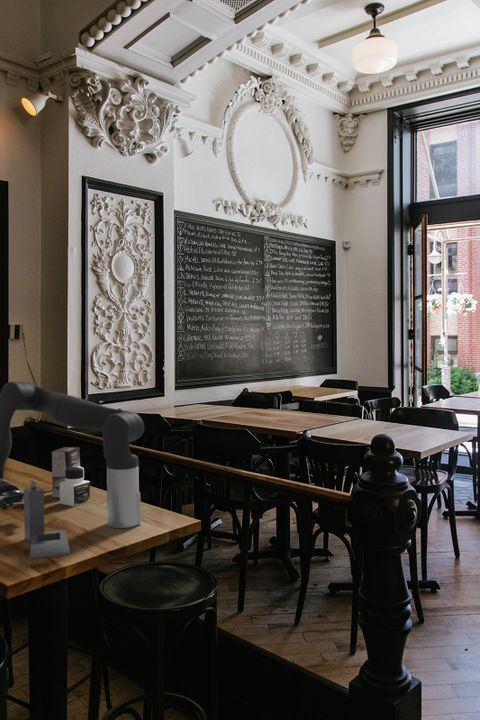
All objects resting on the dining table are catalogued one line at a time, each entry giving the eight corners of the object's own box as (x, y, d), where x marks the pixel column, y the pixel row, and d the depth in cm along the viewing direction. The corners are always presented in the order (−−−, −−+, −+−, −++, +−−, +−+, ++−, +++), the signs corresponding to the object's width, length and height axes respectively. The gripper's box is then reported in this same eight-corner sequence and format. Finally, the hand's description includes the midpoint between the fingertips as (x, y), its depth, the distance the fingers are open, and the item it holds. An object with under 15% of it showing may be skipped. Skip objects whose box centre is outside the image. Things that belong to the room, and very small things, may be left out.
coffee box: (68, 498, 205) (68, 451, 204) (51, 497, 206) (51, 451, 206) (81, 491, 214) (80, 446, 213) (64, 490, 215) (63, 446, 215)
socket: (67, 541, 162) (67, 529, 162) (70, 554, 153) (70, 541, 153) (28, 545, 159) (28, 533, 159) (28, 559, 149) (28, 545, 149)
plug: (39, 535, 167) (38, 477, 166) (44, 539, 164) (43, 480, 163) (24, 539, 164) (23, 480, 164) (30, 542, 161) (29, 483, 161)
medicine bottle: (74, 507, 195) (73, 470, 194) (59, 503, 198) (58, 468, 198) (90, 501, 201) (90, 466, 200) (75, 498, 204) (75, 464, 204)
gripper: (-22, 484, 179) (-5, 495, 167) (25, 477, 189) (45, 487, 176) (-22, 509, 180) (-5, 522, 167) (26, 500, 189) (45, 512, 176)
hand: (21, 504), depth 172 cm, fingers open, 8 cm apart
